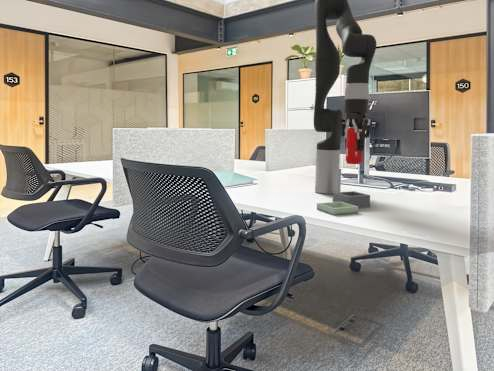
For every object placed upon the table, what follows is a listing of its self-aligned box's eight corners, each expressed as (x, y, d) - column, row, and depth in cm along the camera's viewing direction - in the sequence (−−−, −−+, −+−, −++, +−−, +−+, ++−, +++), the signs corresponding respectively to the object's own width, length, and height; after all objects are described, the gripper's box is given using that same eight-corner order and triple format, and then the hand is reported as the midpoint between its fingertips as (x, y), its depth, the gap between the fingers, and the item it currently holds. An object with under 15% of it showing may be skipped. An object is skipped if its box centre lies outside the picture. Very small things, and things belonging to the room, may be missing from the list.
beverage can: (351, 162, 141) (353, 127, 139) (364, 163, 137) (366, 127, 135) (342, 163, 138) (343, 127, 136) (355, 164, 134) (357, 127, 132)
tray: (340, 207, 136) (340, 201, 136) (358, 212, 128) (358, 206, 127) (316, 209, 132) (316, 203, 132) (333, 215, 124) (333, 208, 124)
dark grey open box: (353, 202, 145) (353, 191, 144) (369, 207, 137) (370, 195, 137) (332, 204, 142) (333, 192, 141) (348, 208, 134) (349, 196, 133)
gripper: (381, 97, 129) (377, 151, 132) (351, 99, 142) (349, 148, 145) (361, 96, 126) (359, 152, 129) (333, 98, 139) (331, 149, 142)
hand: (354, 150), depth 137 cm, fingers closed on beverage can, 5 cm apart
